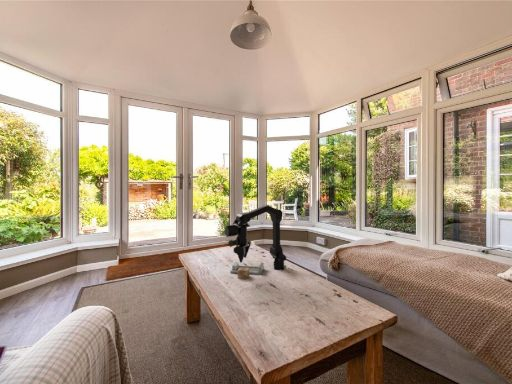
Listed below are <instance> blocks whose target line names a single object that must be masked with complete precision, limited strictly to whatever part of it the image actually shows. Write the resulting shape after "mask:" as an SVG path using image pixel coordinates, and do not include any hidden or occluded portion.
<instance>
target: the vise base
mask: <svg viewBox="0 0 512 384" xmlns="http://www.w3.org/2000/svg"><path fill="white" fill-rule="evenodd" d="M264 267H265V265H264V262H260V264H259V265H258V266H257V265H255V266H254V265H240V264H239V266H238V268H237V269H236V270H232V269H230V274H238V269H239V268H249V275H262V274H263V271H264V270H265V268H264Z"/></svg>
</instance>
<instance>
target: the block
mask: <svg viewBox="0 0 512 384" xmlns="http://www.w3.org/2000/svg"><path fill="white" fill-rule="evenodd" d="M249 277H250V274H249V268H239V269H238V273H237V279H244V280H246V279H249Z"/></svg>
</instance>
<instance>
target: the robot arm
mask: <svg viewBox="0 0 512 384" xmlns="http://www.w3.org/2000/svg"><path fill="white" fill-rule="evenodd" d="M264 213H266V214H268V215H269V218H270V220H271V222H272V245H271V246H269V253H270V254H269V255H271V256H272V259H273V270H275V271H276V270H277V271H284V270H285V261H287V256H286V255H285V254H284V249H283V247H282V245H281V221H282V220H283V210H281V209H277V208H275V207H272V206H271V205H270V204H269V205H268V204H264V205H262V206H260V207H258V208H254V209H252V210H251V211H246V212H241V213H238V214H236V215H235V220H234V221H233V223H232V224H227V225H225V230H224V234H225V236H226V237H227V238H229V237H235V238H234V239H229V240H228V242H227V245H228V246H229V247H230V248H232V247H233V246H234V248H233V253H235V254H236V255H237V257H238V260H239V263H240V264H241V263H243V261H244V258H247V255H248V253H249V250H250V248H251V245H252V242H251V240H249V239H248V238H249V235H248V228H250V227H251V225H250V224H249V223H250V221H251V220H252V219H254V218H256V217H258V216H261V215H262V214H264ZM248 222H249V223H248Z"/></svg>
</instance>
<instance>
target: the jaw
mask: <svg viewBox="0 0 512 384" xmlns="http://www.w3.org/2000/svg"><path fill="white" fill-rule="evenodd" d="M239 263H240V262H238V261H236V262H234V263H233V264H232V265H231V267H232V269H231V270H236V269H237V268H238V266H239V265H240V264H239Z"/></svg>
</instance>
